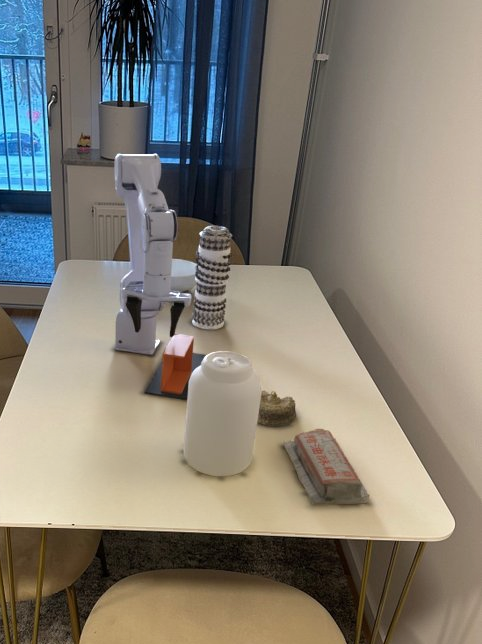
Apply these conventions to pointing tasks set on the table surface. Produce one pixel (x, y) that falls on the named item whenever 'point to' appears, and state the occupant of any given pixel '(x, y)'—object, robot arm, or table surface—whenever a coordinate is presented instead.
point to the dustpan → (177, 363)
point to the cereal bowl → (182, 275)
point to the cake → (276, 410)
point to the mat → (155, 383)
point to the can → (222, 414)
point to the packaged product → (325, 469)
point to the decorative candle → (211, 277)
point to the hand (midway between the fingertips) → (154, 332)
